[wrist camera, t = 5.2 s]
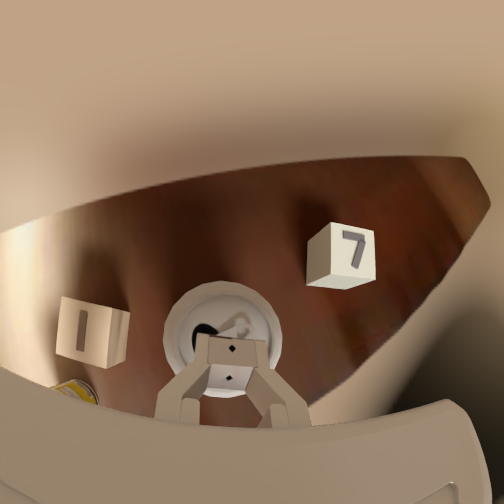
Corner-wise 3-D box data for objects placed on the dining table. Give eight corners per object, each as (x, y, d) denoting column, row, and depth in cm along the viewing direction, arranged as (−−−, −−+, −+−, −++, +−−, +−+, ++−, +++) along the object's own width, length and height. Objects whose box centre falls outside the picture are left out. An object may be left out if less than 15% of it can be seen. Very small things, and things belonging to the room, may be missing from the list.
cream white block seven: (305, 285, 29) (331, 273, 23) (307, 241, 31) (331, 221, 25) (345, 289, 30) (376, 279, 24) (345, 247, 31) (374, 230, 25)
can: (165, 311, 25) (140, 299, 14) (235, 287, 27) (263, 258, 16) (193, 382, 24) (189, 422, 13) (262, 355, 26) (308, 373, 15)
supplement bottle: (67, 417, 20) (30, 440, 12) (59, 377, 21) (17, 389, 13) (104, 421, 21) (74, 450, 13) (96, 380, 22) (60, 397, 14)
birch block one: (82, 349, 22) (54, 353, 17) (87, 303, 24) (60, 295, 18) (125, 360, 23) (105, 369, 17) (130, 312, 25) (111, 307, 19)
